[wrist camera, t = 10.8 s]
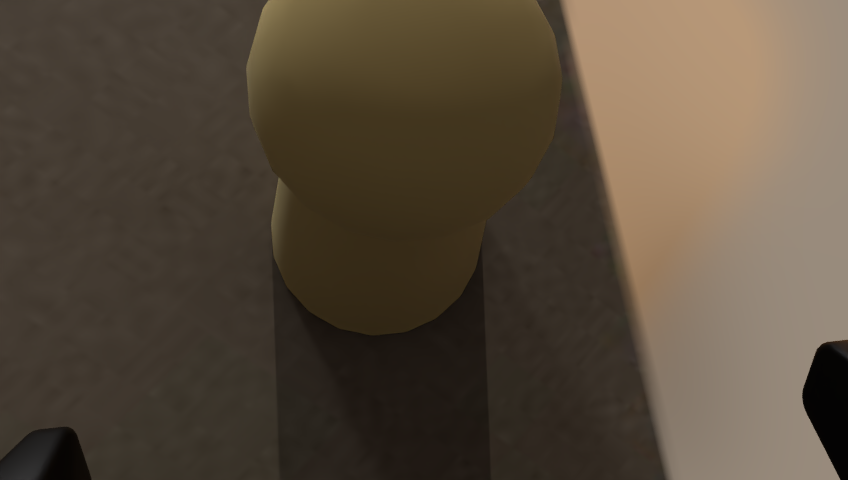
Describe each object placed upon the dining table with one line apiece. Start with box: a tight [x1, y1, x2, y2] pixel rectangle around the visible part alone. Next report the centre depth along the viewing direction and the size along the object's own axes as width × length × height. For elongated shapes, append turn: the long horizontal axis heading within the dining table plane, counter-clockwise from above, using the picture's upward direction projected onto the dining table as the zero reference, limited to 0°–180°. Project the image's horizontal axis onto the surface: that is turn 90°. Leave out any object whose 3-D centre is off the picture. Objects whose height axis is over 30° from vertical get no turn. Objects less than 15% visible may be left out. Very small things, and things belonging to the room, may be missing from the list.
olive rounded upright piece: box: [246, 0, 562, 336], centre depth 16 cm, size 6×6×11 cm
